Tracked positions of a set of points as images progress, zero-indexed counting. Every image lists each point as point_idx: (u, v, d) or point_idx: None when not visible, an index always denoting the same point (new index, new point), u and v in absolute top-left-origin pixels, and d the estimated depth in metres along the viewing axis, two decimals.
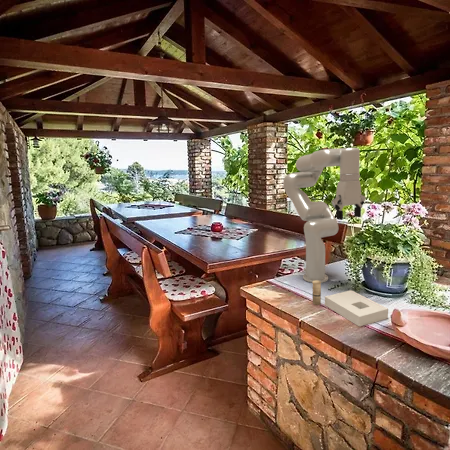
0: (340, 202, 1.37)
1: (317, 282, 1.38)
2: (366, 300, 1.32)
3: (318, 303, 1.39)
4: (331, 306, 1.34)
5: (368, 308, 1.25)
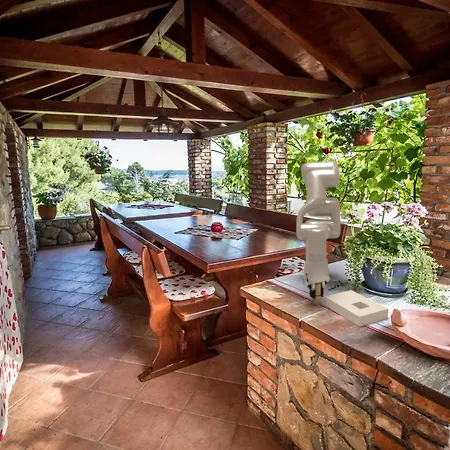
0: None
1: None
2: (366, 300, 1.32)
3: (318, 303, 1.38)
4: (331, 306, 1.34)
5: (368, 308, 1.25)
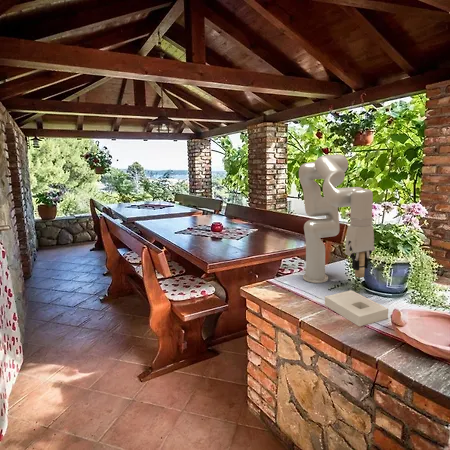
0: (353, 249, 1.24)
1: None
2: (366, 300, 1.32)
3: (362, 275, 1.24)
4: (331, 306, 1.34)
5: (368, 308, 1.25)
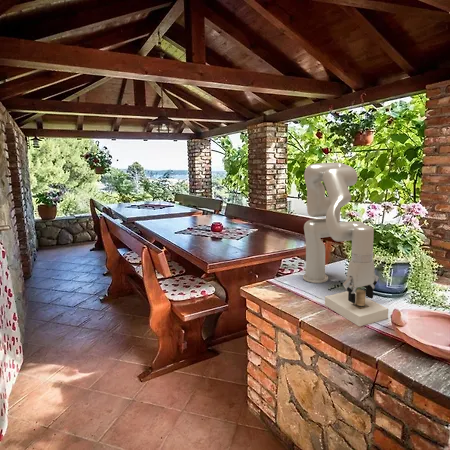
0: (352, 283, 1.26)
1: (362, 291, 1.26)
2: (366, 300, 1.32)
3: None
4: (331, 306, 1.34)
5: (368, 308, 1.25)
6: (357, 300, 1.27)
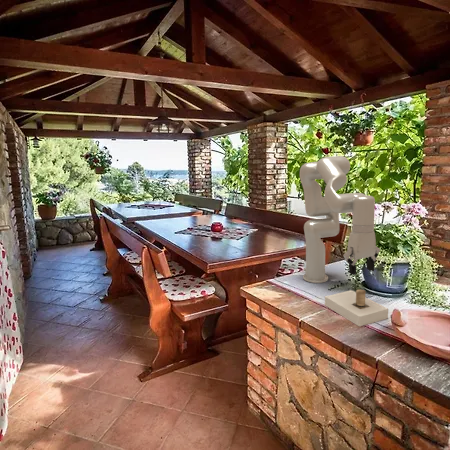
0: (353, 254, 1.23)
1: (362, 291, 1.26)
2: (366, 300, 1.32)
3: None
4: (331, 306, 1.34)
5: (368, 308, 1.25)
6: (357, 300, 1.27)
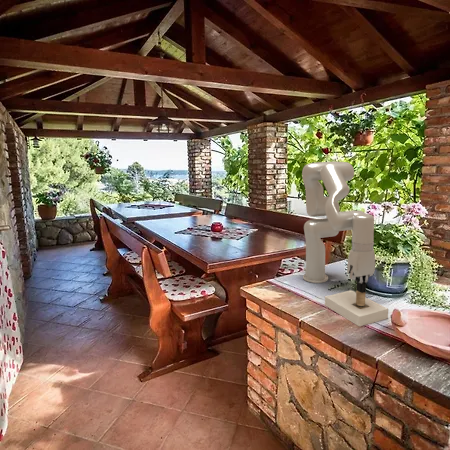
0: None
1: None
2: (366, 300, 1.32)
3: None
4: (331, 306, 1.34)
5: (368, 308, 1.25)
6: (357, 300, 1.27)
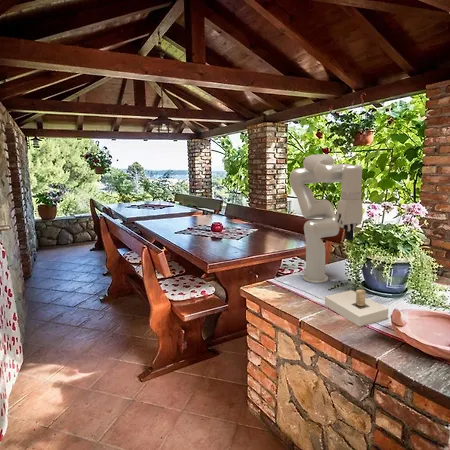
0: None
1: (362, 291, 1.26)
2: (366, 300, 1.32)
3: None
4: (331, 306, 1.34)
5: (368, 308, 1.25)
6: (357, 300, 1.27)
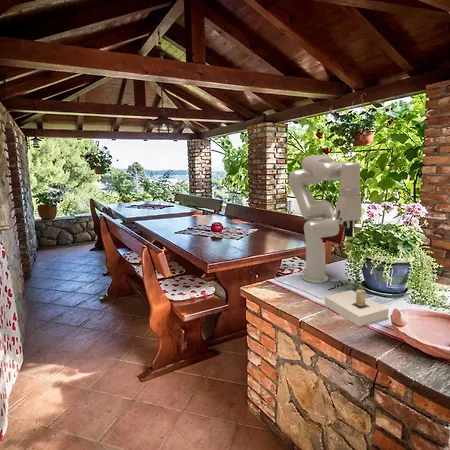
0: None
1: (362, 291, 1.26)
2: (366, 300, 1.32)
3: None
4: (331, 306, 1.34)
5: (368, 308, 1.25)
6: (357, 300, 1.27)
